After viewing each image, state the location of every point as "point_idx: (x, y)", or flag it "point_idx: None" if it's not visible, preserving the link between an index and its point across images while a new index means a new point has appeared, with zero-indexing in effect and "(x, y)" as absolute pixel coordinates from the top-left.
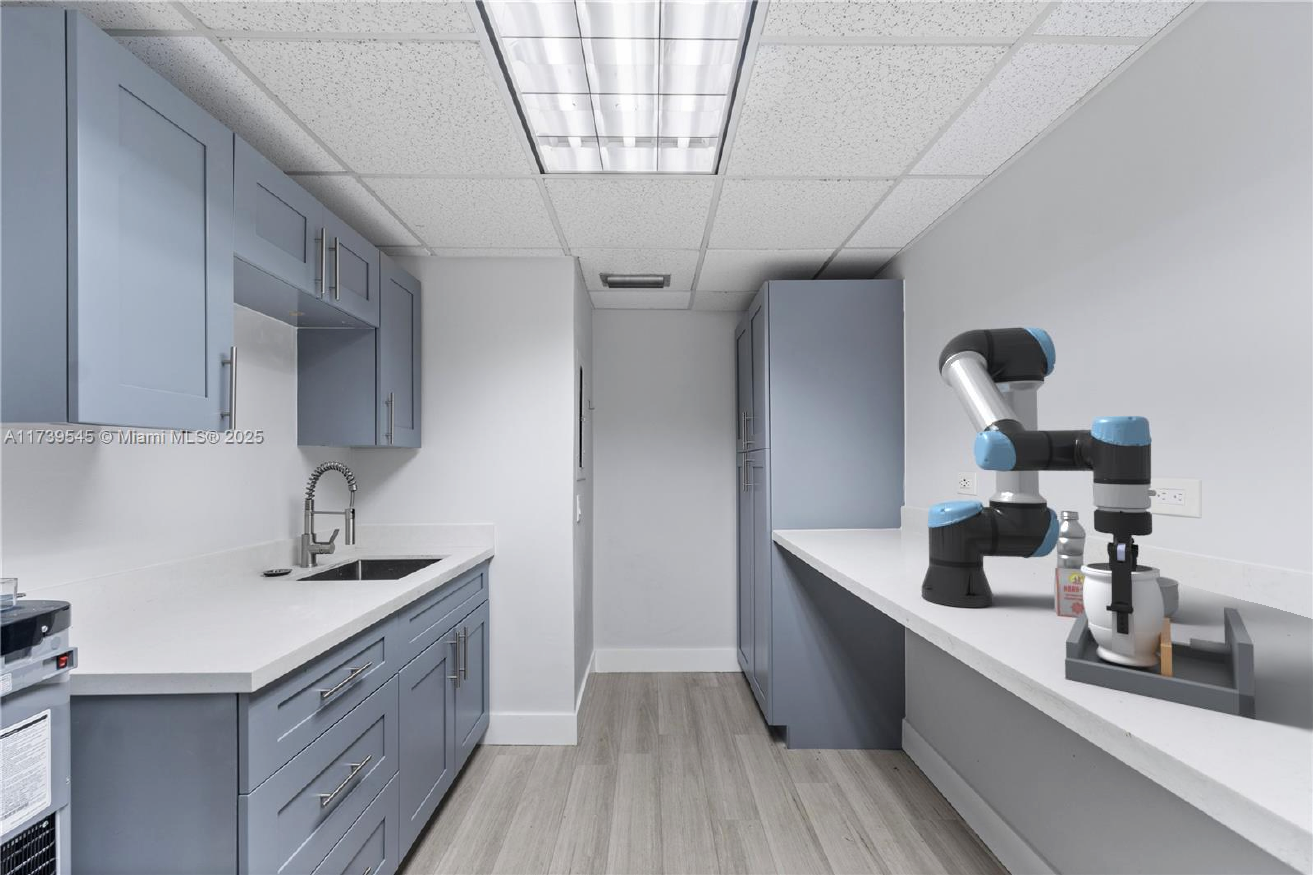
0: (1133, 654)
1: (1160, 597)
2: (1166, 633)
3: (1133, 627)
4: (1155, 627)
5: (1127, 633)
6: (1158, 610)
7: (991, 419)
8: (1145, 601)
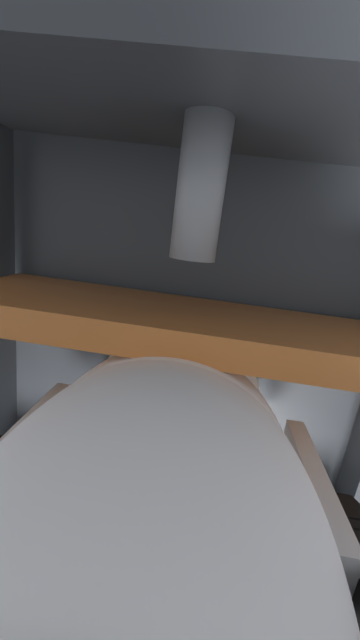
0: (305, 426)
1: (216, 492)
2: (223, 352)
3: (336, 497)
4: (262, 409)
5: (356, 502)
6: (268, 452)
7: None
8: (341, 577)
